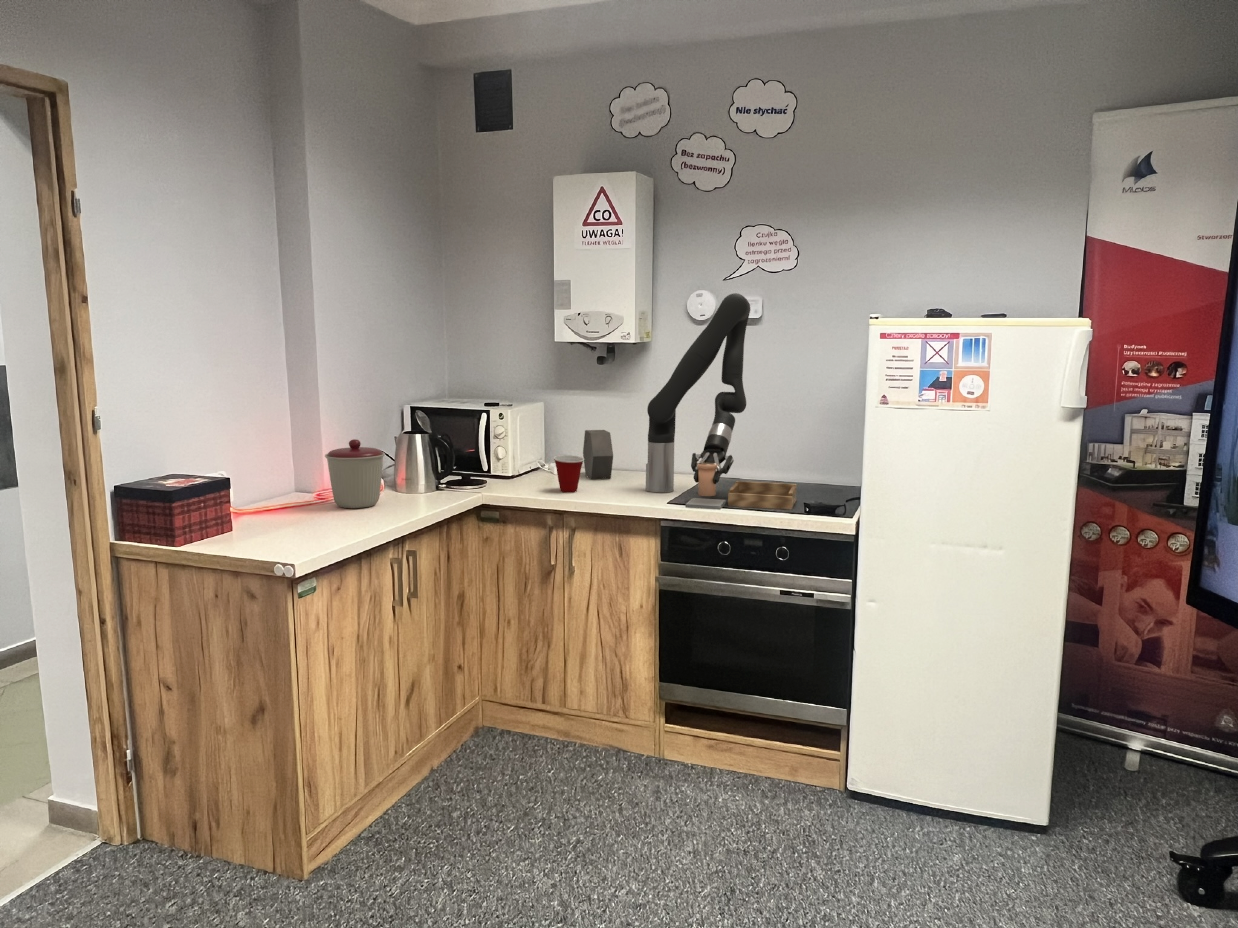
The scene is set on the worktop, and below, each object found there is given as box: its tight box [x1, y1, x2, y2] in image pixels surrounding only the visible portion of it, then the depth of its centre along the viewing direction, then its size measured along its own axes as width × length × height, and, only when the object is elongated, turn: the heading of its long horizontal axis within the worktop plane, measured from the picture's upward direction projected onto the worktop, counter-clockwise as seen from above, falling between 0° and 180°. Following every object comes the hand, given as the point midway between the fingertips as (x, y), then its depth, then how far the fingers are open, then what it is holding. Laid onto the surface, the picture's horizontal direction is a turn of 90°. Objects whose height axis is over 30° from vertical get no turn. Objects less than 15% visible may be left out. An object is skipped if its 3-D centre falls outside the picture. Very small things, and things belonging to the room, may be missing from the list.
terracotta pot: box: [697, 462, 717, 497], centre depth 279 cm, size 6×6×10 cm
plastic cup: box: [553, 454, 585, 493], centre depth 302 cm, size 11×11×12 cm
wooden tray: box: [727, 480, 797, 510], centre depth 283 cm, size 20×16×6 cm
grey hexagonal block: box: [582, 429, 614, 480], centre depth 333 cm, size 17×8×21 cm
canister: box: [324, 438, 386, 509], centre depth 274 cm, size 18×18×21 cm
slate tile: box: [685, 497, 727, 510], centre depth 280 cm, size 11×11×1 cm
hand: (705, 481), depth 277 cm, fingers closed on terracotta pot, 5 cm apart
